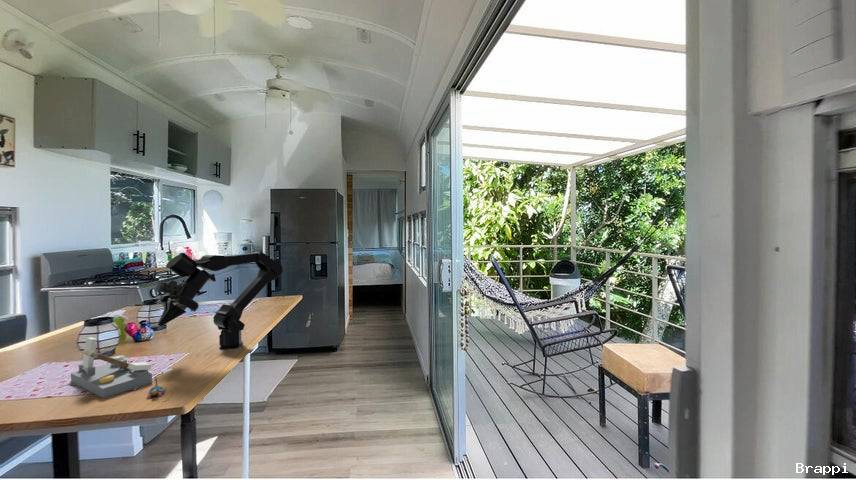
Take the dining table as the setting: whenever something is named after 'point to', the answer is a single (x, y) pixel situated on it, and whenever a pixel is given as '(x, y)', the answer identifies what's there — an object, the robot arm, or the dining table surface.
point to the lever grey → (90, 346)
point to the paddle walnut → (106, 358)
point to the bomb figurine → (156, 390)
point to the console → (109, 379)
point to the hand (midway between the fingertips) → (159, 325)
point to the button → (117, 359)
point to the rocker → (139, 366)
